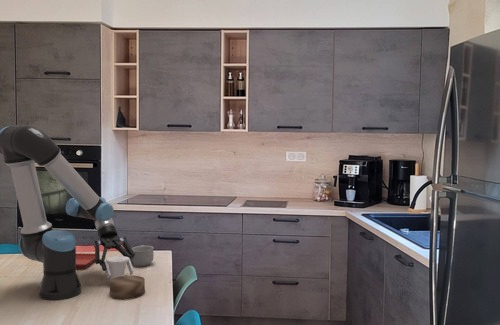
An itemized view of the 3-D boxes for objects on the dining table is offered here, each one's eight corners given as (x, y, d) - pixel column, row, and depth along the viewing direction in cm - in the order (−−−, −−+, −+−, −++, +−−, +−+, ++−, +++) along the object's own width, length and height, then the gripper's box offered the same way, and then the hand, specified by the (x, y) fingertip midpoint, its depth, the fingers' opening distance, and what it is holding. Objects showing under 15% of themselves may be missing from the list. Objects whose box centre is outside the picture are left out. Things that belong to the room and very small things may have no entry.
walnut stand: (121, 301, 182) (121, 288, 182) (103, 293, 191) (103, 280, 191) (151, 293, 191) (151, 280, 191) (132, 285, 200) (132, 273, 200)
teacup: (150, 268, 226) (150, 250, 225) (126, 268, 226) (126, 250, 226) (157, 260, 240) (157, 243, 239) (134, 260, 240) (134, 243, 240)
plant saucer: (86, 271, 222) (86, 263, 222) (46, 270, 223) (46, 263, 223) (99, 260, 240) (99, 253, 240) (62, 260, 241) (62, 253, 241)
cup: (106, 286, 200) (106, 261, 199) (106, 279, 209) (106, 256, 208) (129, 284, 202) (129, 260, 201) (128, 277, 211) (128, 254, 210)
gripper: (128, 231, 223) (143, 275, 211) (78, 237, 210) (92, 284, 198) (132, 221, 218) (148, 265, 206) (82, 227, 206) (96, 274, 194)
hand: (120, 274), depth 202 cm, fingers closed on cup, 9 cm apart
